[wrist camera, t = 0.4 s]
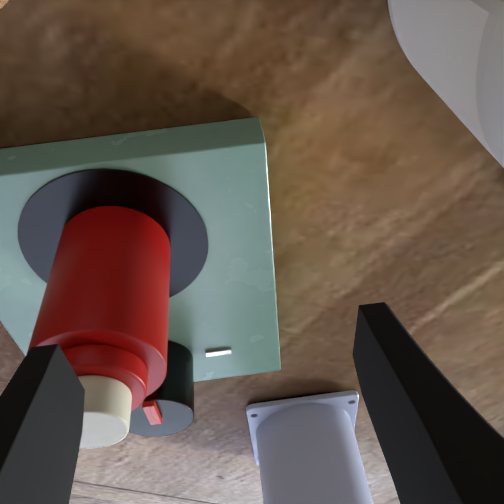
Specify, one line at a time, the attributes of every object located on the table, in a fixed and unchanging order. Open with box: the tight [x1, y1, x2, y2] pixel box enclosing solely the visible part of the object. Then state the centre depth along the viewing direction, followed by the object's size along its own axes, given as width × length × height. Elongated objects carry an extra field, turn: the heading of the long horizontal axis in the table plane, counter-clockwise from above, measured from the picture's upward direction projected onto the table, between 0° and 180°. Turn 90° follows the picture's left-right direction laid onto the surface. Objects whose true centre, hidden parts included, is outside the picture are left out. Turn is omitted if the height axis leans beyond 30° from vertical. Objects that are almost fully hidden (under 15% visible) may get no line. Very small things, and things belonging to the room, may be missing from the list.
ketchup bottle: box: [27, 206, 170, 448], centre depth 17 cm, size 4×4×8 cm
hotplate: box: [0, 117, 281, 382], centre depth 23 cm, size 16×13×2 cm
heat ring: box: [17, 168, 209, 298], centre depth 20 cm, size 8×8×1 cm
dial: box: [129, 341, 194, 436], centre depth 24 cm, size 4×4×4 cm
